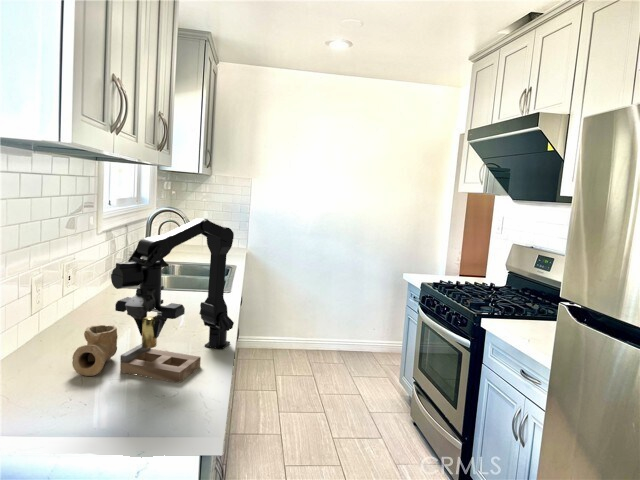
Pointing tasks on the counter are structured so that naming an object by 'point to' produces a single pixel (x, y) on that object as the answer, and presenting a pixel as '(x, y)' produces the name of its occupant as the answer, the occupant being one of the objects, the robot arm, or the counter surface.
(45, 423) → the counter surface
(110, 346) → the pipe
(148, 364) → the jig
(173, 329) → the counter surface
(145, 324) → the brass cylinder rod
